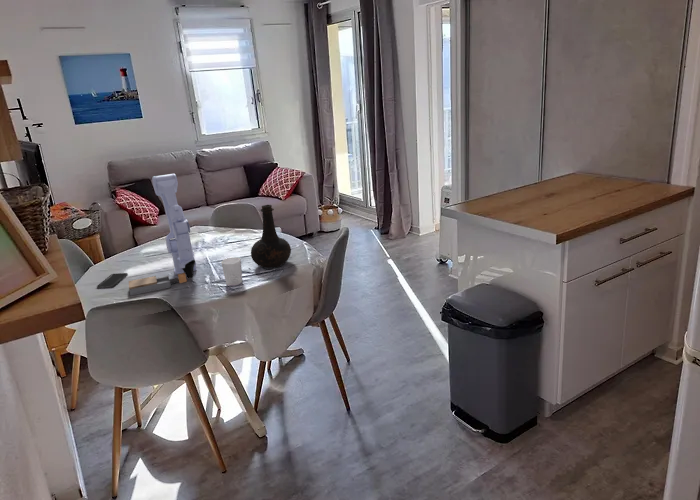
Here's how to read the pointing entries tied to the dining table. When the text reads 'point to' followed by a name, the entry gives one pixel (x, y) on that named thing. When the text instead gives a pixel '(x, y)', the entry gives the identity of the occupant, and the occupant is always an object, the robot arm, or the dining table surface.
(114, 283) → the phone
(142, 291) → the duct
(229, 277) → the white cup
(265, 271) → the dining table surface
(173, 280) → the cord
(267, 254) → the glass bottle
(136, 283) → the lid
